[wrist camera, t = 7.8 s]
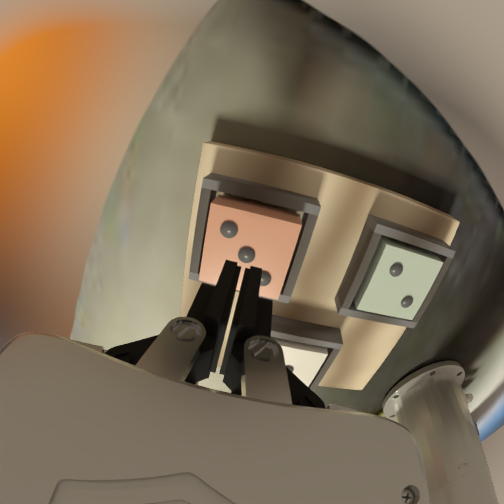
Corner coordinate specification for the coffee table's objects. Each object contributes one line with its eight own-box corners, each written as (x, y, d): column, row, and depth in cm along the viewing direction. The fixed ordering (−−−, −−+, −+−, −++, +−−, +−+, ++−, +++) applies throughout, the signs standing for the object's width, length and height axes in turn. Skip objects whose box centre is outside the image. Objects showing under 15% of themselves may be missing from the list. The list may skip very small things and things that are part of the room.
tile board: (447, 214, 19) (472, 231, 15) (358, 376, 27) (364, 404, 24) (211, 141, 19) (194, 144, 15) (183, 341, 27) (171, 369, 24)
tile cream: (325, 337, 22) (328, 355, 20) (305, 374, 24) (305, 391, 23) (266, 325, 22) (264, 343, 20) (253, 364, 24) (250, 381, 23)
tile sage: (431, 250, 18) (444, 263, 16) (404, 305, 20) (412, 320, 18) (377, 232, 18) (386, 244, 16) (351, 293, 20) (356, 310, 18)
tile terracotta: (299, 214, 17) (301, 226, 15) (278, 283, 19) (277, 300, 17) (218, 194, 17) (210, 203, 15) (206, 265, 19) (198, 281, 17)
